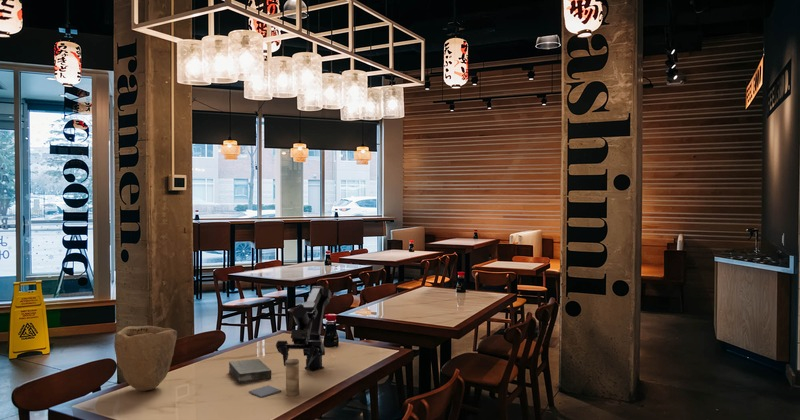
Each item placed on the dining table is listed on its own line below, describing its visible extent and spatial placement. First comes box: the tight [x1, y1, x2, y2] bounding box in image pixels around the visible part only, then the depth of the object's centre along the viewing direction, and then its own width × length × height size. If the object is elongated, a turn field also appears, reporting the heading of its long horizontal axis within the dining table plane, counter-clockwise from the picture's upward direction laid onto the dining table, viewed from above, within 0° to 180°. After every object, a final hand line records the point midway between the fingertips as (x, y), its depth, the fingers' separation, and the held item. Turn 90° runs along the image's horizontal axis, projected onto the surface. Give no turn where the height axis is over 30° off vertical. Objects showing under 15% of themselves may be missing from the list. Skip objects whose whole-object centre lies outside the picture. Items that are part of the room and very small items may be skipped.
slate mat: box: [248, 385, 282, 399], centre depth 211 cm, size 9×9×1 cm
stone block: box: [228, 358, 272, 385], centre depth 232 cm, size 14×20×5 cm
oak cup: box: [285, 358, 300, 397], centre depth 208 cm, size 5×5×13 cm
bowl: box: [113, 325, 178, 392], centre depth 215 cm, size 22×22×25 cm
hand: (295, 365), depth 213 cm, fingers open, 9 cm apart
